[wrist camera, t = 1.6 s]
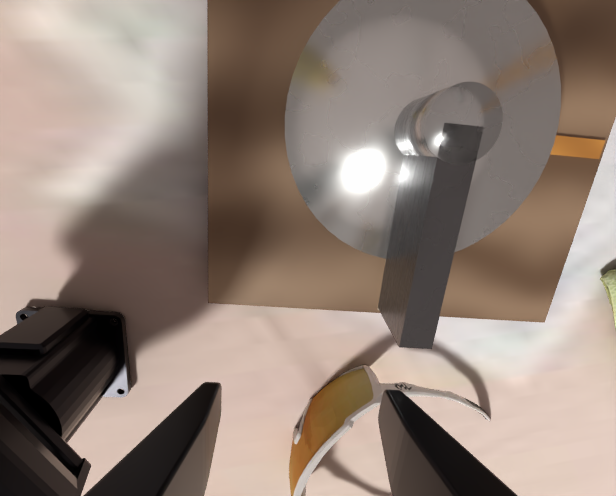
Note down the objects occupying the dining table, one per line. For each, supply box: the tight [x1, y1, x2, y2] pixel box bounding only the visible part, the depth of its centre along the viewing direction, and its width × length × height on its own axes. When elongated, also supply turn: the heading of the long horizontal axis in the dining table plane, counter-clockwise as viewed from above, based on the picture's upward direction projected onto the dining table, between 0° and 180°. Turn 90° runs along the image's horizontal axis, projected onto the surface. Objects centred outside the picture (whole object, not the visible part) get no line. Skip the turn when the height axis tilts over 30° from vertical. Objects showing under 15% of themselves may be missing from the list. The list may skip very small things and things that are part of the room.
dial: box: [285, 0, 561, 349], centre depth 15 cm, size 17×14×5 cm
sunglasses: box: [289, 365, 491, 496], centre depth 25 cm, size 14×15×5 cm
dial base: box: [208, 0, 616, 322], centre depth 18 cm, size 22×22×2 cm
